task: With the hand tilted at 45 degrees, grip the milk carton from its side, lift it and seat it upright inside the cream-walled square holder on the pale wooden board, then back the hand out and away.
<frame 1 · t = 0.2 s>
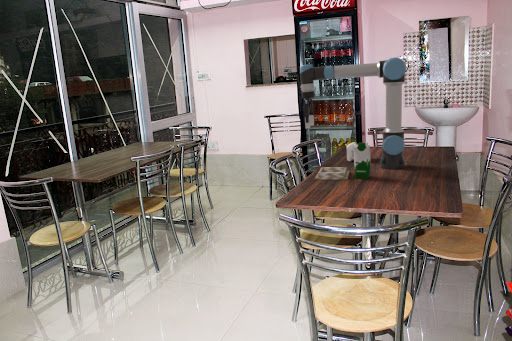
hand: (309, 127, 260), 28 cm above the table, tool pointing down, fingers open, 13 cm apart
milk carton: (362, 177, 244), on the table
holder: (332, 175, 252), on the table
cable organizer: (357, 160, 291), on the table
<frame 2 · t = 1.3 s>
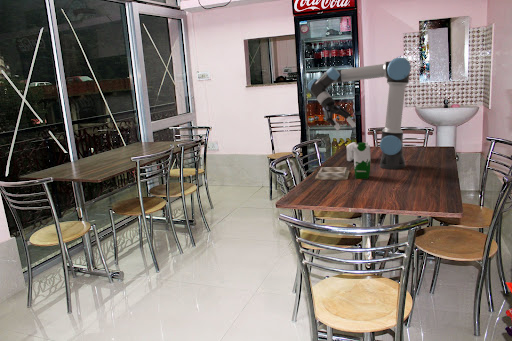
hand: (346, 127, 247), 28 cm above the table, tool tilted 45°, fingers open, 13 cm apart
nothing on the table moved.
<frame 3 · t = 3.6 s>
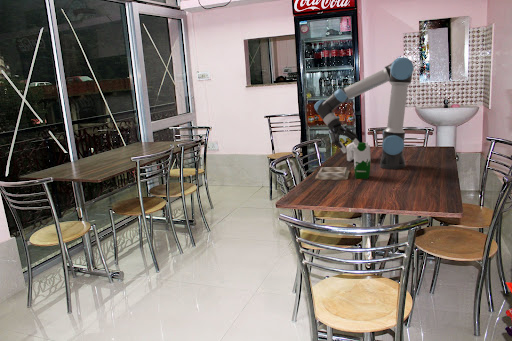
hand: (353, 150, 245), 15 cm above the table, tool tilted 45°, fingers open, 13 cm apart
nothing on the table moved.
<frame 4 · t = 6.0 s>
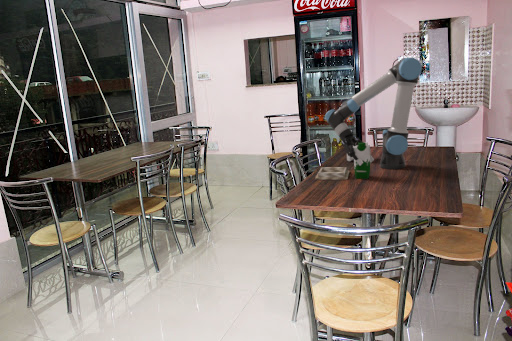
hand: (367, 162, 240), 9 cm above the table, tool tilted 45°, fingers closed on milk carton, 9 cm apart
milk carton: (362, 177, 244), on the table, touching gripper
everything else where it was.
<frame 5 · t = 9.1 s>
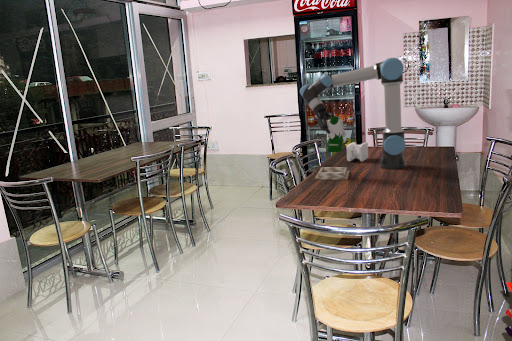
hand: (339, 136, 243), 23 cm above the table, tool tilted 45°, fingers closed on milk carton, 9 cm apart
milk carton: (335, 151, 248), point 15 cm above the table, touching gripper
everything else where it was.
when the fingers open (13 cm above the table, at t = 12.2 s): milk carton drops 3 cm, resting on holder.
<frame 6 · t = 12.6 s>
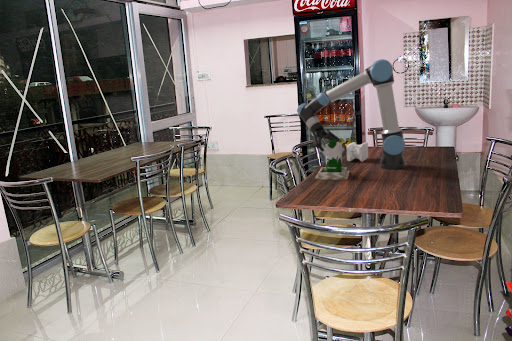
hand: (335, 153, 247), 14 cm above the table, tool tilted 45°, fingers open, 13 cm apart
milk carton: (334, 174, 252), point 1 cm above the table, touching holder
everything else where it was.
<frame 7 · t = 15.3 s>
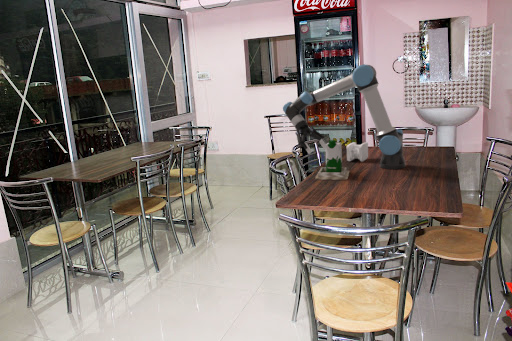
hand: (318, 150, 257), 14 cm above the table, tool tilted 45°, fingers open, 13 cm apart
nothing on the table moved.
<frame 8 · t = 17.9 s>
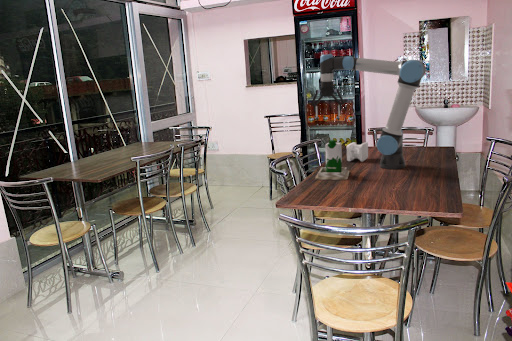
hand: (327, 116, 264), 33 cm above the table, tool pointing down, fingers open, 13 cm apart
nothing on the table moved.
at the end: milk carton 1.4 cm off-centre on the holder, point 0.8 cm above the holder's base; milk carton tilted 0°; the gripper is holding nothing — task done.
